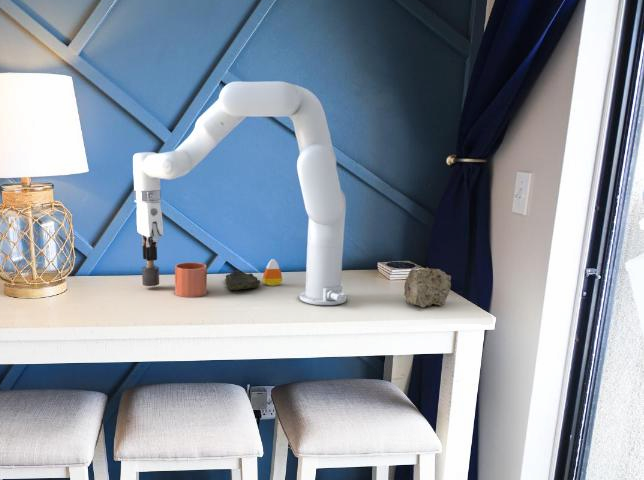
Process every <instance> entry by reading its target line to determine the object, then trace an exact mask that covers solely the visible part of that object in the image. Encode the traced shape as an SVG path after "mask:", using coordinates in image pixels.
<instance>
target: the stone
mask: <svg viewBox="0 0 644 480" xmlns="http://www.w3.org/2000/svg"><path fill="white" fill-rule="evenodd" d="M224 281H225V283H226V285H227V286H226V287H227V288H228V290H229V291H238V290H247V289H251V288H253V289H254V288H255V289H257V288H259V287H260V285H261V280H260V279H258V277H257V276H254V274H253V273H251V272H250V273H246V272H244V271H242V270H240V269H236V270H234V271H233V272H231V273H229V274H226V275H225V278H224Z"/></svg>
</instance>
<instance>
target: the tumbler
mask: <svg viewBox="0 0 644 480" xmlns="http://www.w3.org/2000/svg"><path fill="white" fill-rule="evenodd" d="M207 267H208V266H207V264H205V263H201V262H180V263H177V264H174V288H175V289H174V293H175V295H176V296H178V297H183V298H198V297H203V296H205V295H207V294H208V293H207V291H208V288H207V287H208V283H207V282H208V281H207V279H208V277H207V275H208V273H207V272H208V268H207Z"/></svg>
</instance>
